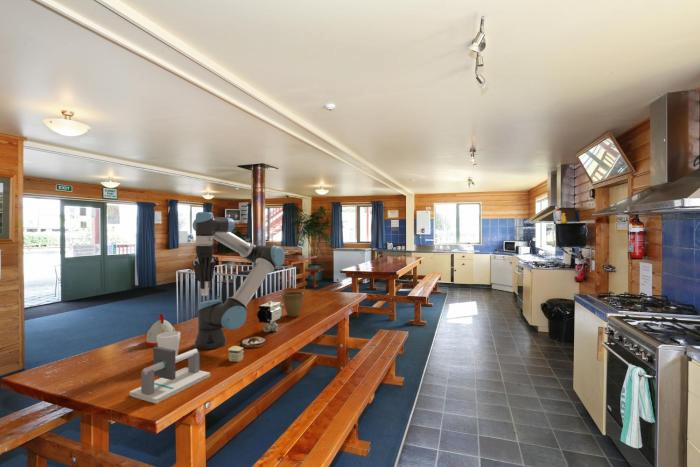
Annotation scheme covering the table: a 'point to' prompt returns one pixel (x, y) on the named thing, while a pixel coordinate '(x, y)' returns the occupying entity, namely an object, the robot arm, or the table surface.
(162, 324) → the kitchen timer
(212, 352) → the table surface
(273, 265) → the robot arm
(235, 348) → the beige layered block
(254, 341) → the white shallow bowl
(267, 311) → the ball valve
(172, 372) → the collar
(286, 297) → the plant pot
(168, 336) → the foam cup
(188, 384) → the pipe rig
